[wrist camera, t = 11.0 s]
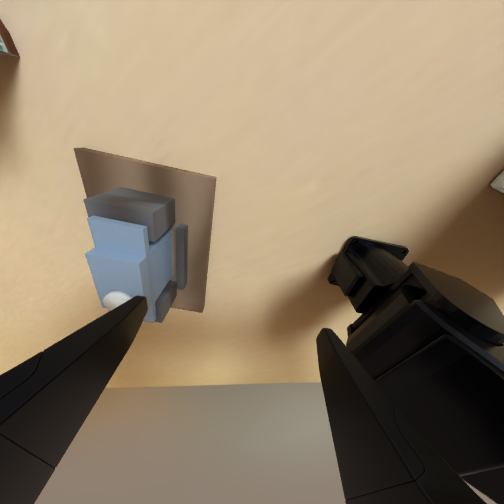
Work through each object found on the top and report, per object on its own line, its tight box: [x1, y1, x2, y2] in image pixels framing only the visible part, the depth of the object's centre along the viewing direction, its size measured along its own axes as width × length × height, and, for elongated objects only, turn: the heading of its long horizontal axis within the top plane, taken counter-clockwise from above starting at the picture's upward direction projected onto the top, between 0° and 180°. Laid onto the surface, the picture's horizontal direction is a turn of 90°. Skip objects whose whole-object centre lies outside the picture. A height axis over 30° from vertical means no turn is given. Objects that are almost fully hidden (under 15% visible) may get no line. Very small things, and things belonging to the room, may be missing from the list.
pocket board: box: [74, 148, 216, 323], centre depth 19 cm, size 12×18×5 cm, turn 168°
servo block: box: [85, 216, 173, 323], centre depth 18 cm, size 4×11×7 cm, turn 168°
